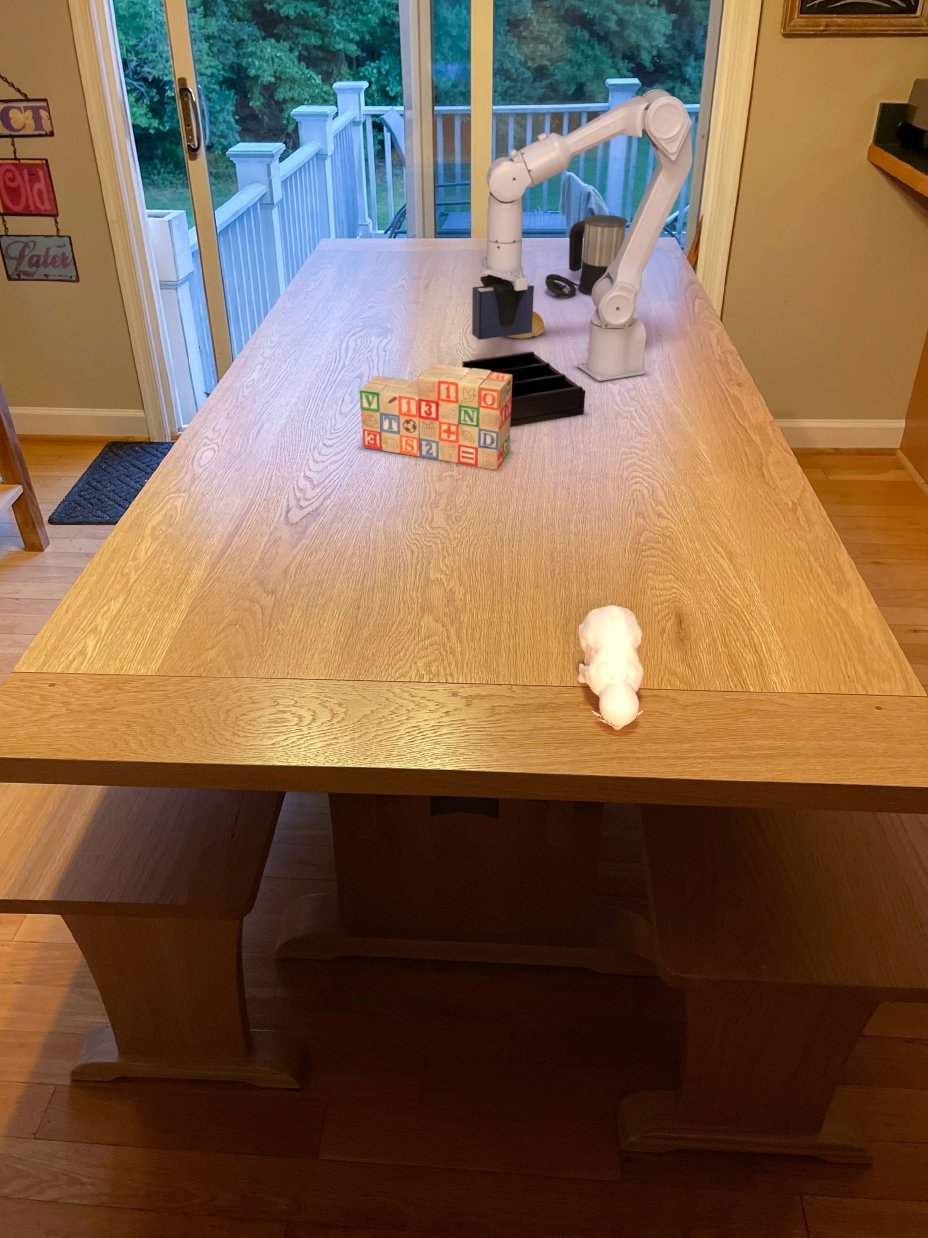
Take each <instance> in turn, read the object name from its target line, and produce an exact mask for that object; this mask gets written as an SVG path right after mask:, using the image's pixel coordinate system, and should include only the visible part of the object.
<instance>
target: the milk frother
mask: <svg viewBox="0 0 928 1238" xmlns="http://www.w3.org/2000/svg"><path fill="white" fill-rule="evenodd" d="M627 224H628V219H627V218H625V217H622V216H619V215H614V214H613V215H612V214H592V215H587V216H585V217H584V218H583V220H579V221H577V222H575V223H574V224H572V226H571V228H570V230H569V237H568V238H569V240H568V241H569V242H568V269H569V271H571V272H577V271H578V272H579V271H580V270H581V271H580V277H579V280H578V281H579V284H578V283H576V282H574V281H573V280H570V279H569V278H567V277H565V276H563V275H562V276H561V274H554V273H551V274H547V275H546V276H545V279H544V282H545V286H546V288H547V290H549V291H550V292H551V293H553V294H555V295H556V297H564V298H568V297H573V296H575V295H576V293H577V288H576V287H578V290H579V291H580V292H581V293H583V294H587V295H591V296H592V289H593V287H594V285H595V283H596V282H597V281H598V280H599V279H600V278H601V277H602V276H603V275H604V274H605V272H606V270H607V268H608V266H609V265H610V264H611V263H612V262H613V261H614V260H615V258H616V256H617V254H618V252H619V250H620V247H621V245H622V243H623V241H624V238H625V236H626V227H627ZM567 287H568V288H569V291H568V290H567V289H566V288H567Z"/></svg>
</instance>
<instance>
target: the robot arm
mask: <svg viewBox="0 0 928 1238" xmlns="http://www.w3.org/2000/svg"><path fill="white" fill-rule="evenodd" d="M692 124H693V122H692V119H691V117H690V115H689V113H688V111H687V108H686V107H685V104H684V103H683V101H681V100H680V99H679V98H677V97H675V96H672V95H671V94H670V93H669V92H668V91H667V90H664V89H660V88H656V89H651V90H648V91H646V92H645V93H644V94H643V95H642V96H641V95H637V96H633V97H632V98H629V99H628V100H626V101H623V102H622V103H619V104H618V105H616V106H615V107H613V108H611V109H609V110H607V111H606V112H604V113H603V114H601V115H599V116H597V117H595V118H593V119H592V120H590V121H588V122H587V123H585V124H583V125H582V126H580V127H577V128H576V129H575V130H572V131H571V132H569V133H568V134H565V135H561V134H558V133H556V132H551V133H549V134H548V135H547V134H546V132H542V133H539V134H538V135H537V140H536V141H533V142H532V143H530V144H528V145H527V146H525V147H523V148H520V150H517V149H516V148H514V149H512V150H510V151H509V155H510V156H502V157H499V158H497V159H495V160H494V161H493V162H492V163H491V164H490V166H489V168H488V170H487V173H486V175H485V180H486V183H487V186H488V188H489V192H488V193H489V195H488V197H487V204H488V208H487V213H486V214H487V215H486V216H487V219H486V220H487V221H486V222H487V223H486V256H481V257H480V258H481V260H480V261H481V262H480V268H479V272H480V273H481V275H482V276H481V277H480V282H481V284H482V286H489V285H492V287H493V289H494V292H495V294H496V298H497V302H498V309H499V320H500V324H501V326H510V325H513V323H514V320H515V316H516V312H517V309H518V306H519V303H520V301H521V298H522V296H523V295H524V293H525V292H526V290H527V285H528V284H529V283H528V282H529V281H528V280H529V278H528V277H527V276H526V275H525V272H524V268H523V266H522V249H523V248H522V247H523V217H524V210H523V208H522V207H523V206H522V205H523V195H524V193H525V191H526V189H527V188H529V189H530V188H534V187H535V186H537V185H539V184H541V183H543V182H545V181H547V180H549V179H551V178H553V177H555V176H557V175H559V174H561V173H562V172H565V171H567V170H568V168H569V165H570V163H571V161H572V159H573V158H574V157H576V156H578V155H580V154H582V153H584V152H587V151H588V150H590V149H593V148H595V147H597V146H599V145H602V144H603V143H606V142H609V141H610V140H612V139H614V138H616V137H618V136H628V137H635V138H643V135H645V137H646V138H647V139H648V141H649V142H650V147H651V148H652V151H653V154H654V156H655V159H656V162H657V164H656V166H655V168H654V171H653V173H652V175H651V178H650V180H649V182H648V184H647V186H646V189H645V191H644V193H643V195H642V197H641V200H640V202H639V205H638V207H637V209H636V210H635V211H636V212H635V214H634V216H633V218H632V220H631V222H630V225H629V227H628V229H627V232H626V233H625V238H624V241H623V243H622V245H621V247H620V250H619V252H618V254H617V256H616V258H615V260H614V261H613V262H612V263H611V264H610V265H609V266H608V268H607V270H606V272H605V274H604V275H603V276H602V277H601V278H600V279H599V280H598V281H597V282H596V283H595V285H594V287H593V289H592V295H591V300H592V303H593V305H594V307H596V309H595V310H594V312H593V314H592V315H591V316H590V322H589V335H588V348H587V361H586V362H582V363H578V364H577V368H578V369H580V370H582V371H583V372H584V373H586V374H587V375H589V376H590V377H592V378H593V379H595V380H596V381H598V382H603V381H604V382H605V381H609V380H616V379H617V380H618V379H621V378H622V379H623V378H627V377H628V378H629V377H635V376H640V375H642V376H643V375H645V373H646V370H645V369H644V364H645V363H644V362H645V354H646V345H647V331H646V325H645V324H644V322H643V321H642V320H641V319H639V318H637V317H634V316H635V314H636V312H637V300H638V299H637V298H638V295H639V293H640V291H641V288H642V287H641V286H642V278H643V273H644V270H645V268H646V266H647V264H648V262H649V259H650V258H651V256H652V253H653V251H654V248H655V246H656V244H657V242H658V240H659V238H660V236H661V233H662V231H663V229H664V227H665V225H666V223H667V220H668V219H669V216H670V214H671V212H672V209H673V208H674V205H675V203H676V201H677V199H678V197H679V194H680V192H681V190H682V188H683V186H684V183H685V181H686V179H687V177H688V175H689V173H690V171H691V169H692V165H693V151H692V150H693V148H692V147H693V145H692V131H691V130H692Z"/></svg>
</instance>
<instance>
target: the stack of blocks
mask: <svg viewBox="0 0 928 1238" xmlns="http://www.w3.org/2000/svg"><path fill="white" fill-rule="evenodd" d="M511 401H512V375H511V374H504V373H497V372H491V370H484V369H476V368H464V367H462V366H455V365H446V364H440V363H439V364H438V363H431V364H430V365H428V367H427V368H426V369H425V370H424V371H423V372H422V373H421V374H420V375H419V376H418V377H417V381H415V380H412V379H404V378H397V377H395V378H394V377H388V376H381V375H375V376H373V377H372V378H371V379H370V380H369V381H368V382H367V383H366V384H364V385H363V386H362V387H361V388H360V390H359V407H360V415H361V418H360V419H361V428H362V446H363V447H362V448H367V449H372V450H379V451H383V452H388V453H396V454H401V455H406V456H407V455H408V456H413V457H420V458H426V459H432V460H440V461H445V462H451V463H458V464H461V465H467V466H472V467H479V468H482V469H483V468H484V469H489V470H498V469H499V467H501V465H502V463H503V462H504V460H505V459H506V457H507V456H508V455H509V453H510V441H511V440H510V438H511V435H510V433H511V427H510V420H511V404H512V402H511Z"/></svg>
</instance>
